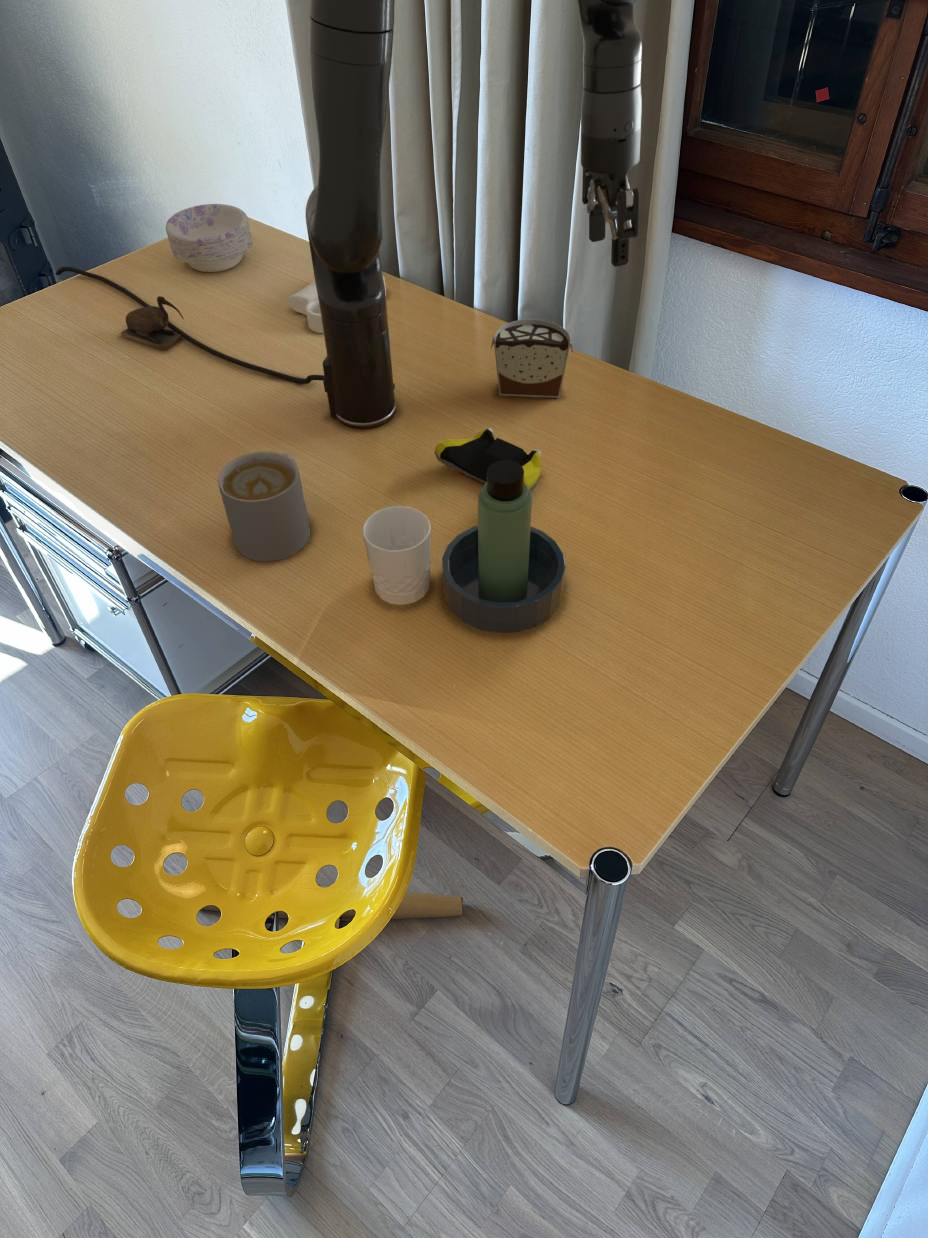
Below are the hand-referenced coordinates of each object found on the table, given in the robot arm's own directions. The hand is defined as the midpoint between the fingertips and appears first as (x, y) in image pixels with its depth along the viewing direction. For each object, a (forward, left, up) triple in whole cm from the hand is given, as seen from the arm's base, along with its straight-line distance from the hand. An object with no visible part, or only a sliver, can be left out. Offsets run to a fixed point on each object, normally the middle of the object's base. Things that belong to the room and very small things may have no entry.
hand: (608, 252), depth 121 cm
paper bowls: (-78, +25, -22) cm, 85 cm away
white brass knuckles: (-48, +14, -22) cm, 54 cm away
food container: (-10, -2, -22) cm, 24 cm away
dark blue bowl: (-3, -47, -22) cm, 52 cm away
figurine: (-74, -4, -22) cm, 77 cm away
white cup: (-15, -50, -22) cm, 56 cm away
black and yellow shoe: (-10, -26, -22) cm, 35 cm away
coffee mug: (-35, -43, -22) cm, 59 cm away
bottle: (-3, -47, -21) cm, 52 cm away
